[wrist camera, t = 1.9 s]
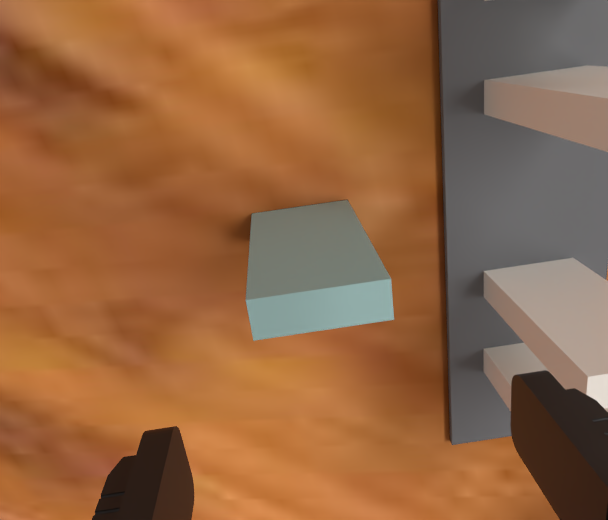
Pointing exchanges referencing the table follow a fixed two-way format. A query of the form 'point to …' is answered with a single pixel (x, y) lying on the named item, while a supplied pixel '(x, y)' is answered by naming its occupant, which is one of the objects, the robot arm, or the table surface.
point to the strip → (509, 180)
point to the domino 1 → (313, 272)
